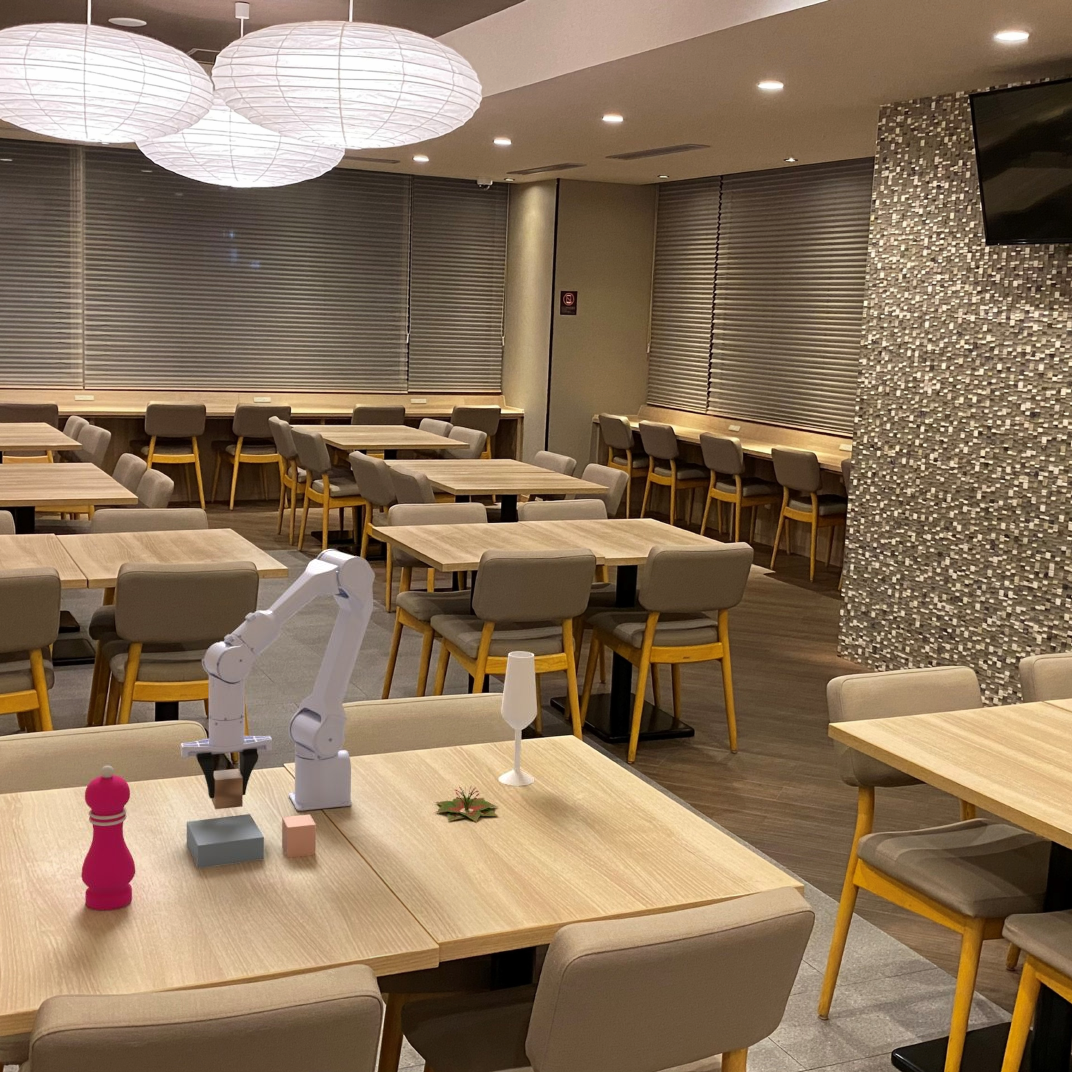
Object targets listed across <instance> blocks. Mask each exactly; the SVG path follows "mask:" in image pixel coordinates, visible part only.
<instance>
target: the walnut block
mask: <svg viewBox="0 0 1072 1072" xmlns="http://www.w3.org/2000/svg"><path fill="white" fill-rule="evenodd" d="M243 796H244V795H243V777H242V775H241V773H240V768H232V769H224V770H223V769H221V770H214V798H211V803H212V804H213V806H214V809H215V810H221V809H222V810H223V809H224V810H225V809H231V808H241V807H243V804H244V803H243V798H244V797H243Z"/></svg>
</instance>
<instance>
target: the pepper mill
mask: <svg viewBox="0 0 1072 1072" xmlns="http://www.w3.org/2000/svg"><path fill="white" fill-rule="evenodd" d="M114 773H115V770H114V768H113V766H111V765H104V766H102V767H101V769H100V776H97V777H95V778H93V779H92V780H91V781H90V782H89V783H88V784H87V785H86V788H85V792H84V801H85V803H86V805H87V806H88V808H89V809H90V810H89V811H88V815H89V818H88V822H89V823H91V824H92V841H91V844H90V847H89V849H88V851H87V853H86V856H85V858H84V860H83V863H82V867H81V874H80V875H81V876H80V877H81V880H82V882H83V884H84V885H86V887H87V888H86V889H85V894H84V895H85V905H86V906H87V907H88V908H90V909H92V910H96V911H112V910H117V909H120V908H123V907H125V906H127V905H129V904H130V902H131V901H132V900H133V899H132V898H133V887H132V885H131V884H130V883H131V881H132V880H133V879H134V877H135V874H136V864H135V861H134V858H133V855H132V852H130V850H129V847H128V846H127V843H126V841H125V836H124V822H125V821H126V819H127V812H128V811H127V807H126V805H127V804H128V802H129V800H130V797H131V791H130V790H131V789H130V786H129V783H128V782H127V781H126V779H124V778H123V777H121V776H119V775H115V774H114Z"/></svg>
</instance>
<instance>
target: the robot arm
mask: <svg viewBox="0 0 1072 1072" xmlns="http://www.w3.org/2000/svg"><path fill="white" fill-rule="evenodd" d="M375 577H376V574H375V572H374V570H373V569H372V567H371V565H370V563H369V561H368V560H366V559H365V558H363V557H361V556H357V555H355V556H354V555H353V554H349V553H345V552H341V551H340V550H338V549H335V548H329V549H325V550H323V551H321V552H320V553H319V554H318V555H317V557H316V558H314V559H312V560H311V561H310V562H308V564H307V566H306V568H305V570H304V571H303V573H302V574H301V575H300V576H299V577H298V578H297V579H296V580H295V581H294V582H293V583H292V584H291V586H289V588H288V589H287V590H286V591H284V592H283V594H282V595H280V597H279V598H278V599H276V601H275V602H274V603H273V604H272V605H271V606H270V607H269V608H268V609H266V610H261V609H260V610H256V611H254V612H249V613H248V614H247V615H246V616H245V617H244V619H245V620H244V621H243V622H242V623H241V624H240V625H239V626H238V627H237V628H236V629H235V630H234V631H232V632H231V633H230V634H229V633H228V634H227V635H225V636H224V637H223V639H224V640H223V641H219V642H215V643H213V644H211V646H209V648H208V649H206V652H205V654H204V657H203V658H202V659H201V665H202V668H203V669H204V672H206V673H207V675H208V738H205V739H200V740H196V741H191V742H190V741H189V742H182V743H180V756H181V758H182V759H188V758H190V757H195V758H196V760H197V763H198V765H199V766H200V769H201V770H202V773H203V775H204V779H205V782H206V786H207V792H208V793H207V794H208V798H209V799H212V798H214V771H215V761H214V756H213V755H220V754H221V755H222V754H231V753H238V757H239V760H238V761H239V771H240V773H241V775H242V777H243V796H246V792H247V787H248V784H249V780H250V777H251V774H252V772H253V770H254V767H255V765H256V764H257V762H258V760H259V754H258V751H266V752H268V751H273V739H272V737H271V735H265V736H263V735H245V733H246V731H245V730H246V729H245V728H246V725H245V723H246V722H245V719H246V718H245V714H246V713H245V707H246V706H245V705H246V704H245V701H246V700H245V697H246V696H245V694H246V693H245V688H246V687H245V678H247V677H248V676H249V674H250V673H251V671H252V668H253V667H252V665H253V663H254V662H255V661H256V659H257V658H258V657H259V656H260V655H261V654H262V653H264V651H265V650H267V649H268V648H269V647H270V646H271V645H272V644H273V643H274V642H275V641H277V639H278V638H279V637H281V634H282V626H283V624H285V623H286V622H287V621H288V620H290V619H291V618H292V617H293V616H294V615H296V614H297V613H298V612H299V611H300V610H302V609H303V608H304V607H305V606H307V605H308V604H309V603H310V602H312V601H313V600H314V599H316V598H317V597H318V596H326V595H327V596H329V595H332V596H333V598H334V600H335V602H336V603H337V605H338V607H339V611H338V614H337V616H336V619H335V623H334V625H333V629H332V631H331V635H330V638H329V640H328V643H327V647H326V649H325V652H324V655H323V659H322V662H321V665H320V668H319V670H318V674H317V677H316V680H315V682H314V686H313V689H312V692H311V694H310V695H308V696H307V697H305V698H304V699H303V700H301V701H300V705H299V707H298V709H297V711H296V712H295V713H294V714H293V715H292V717H291V718H290V721H289V722H288V726H287V727H288V728H287V732H288V735H289V738H290V739H291V741H292V742H294V751H295V754H294V792H289V793H288V797H289V799H290V800H291V802H292V804H293V806H294V807H295V809H296V811H298V812H302V811H303V812H304V811H310V810H311V811H312V810H319V809H329V808H331V809H332V808H339V807H341V808H342V807H350V806H352V801H351V800H352V799H351V798H352V797H351V794H352V793H351V792H352V763H351V758H350V754H349V751H348V750H346V749H342V748H343V746H344V744H345V739H346V732H345V731H346V730H345V729H346V727H345V726H346V723H347V720H348V717H347V713H346V710H345V708H344V706H343V702H344V698H345V695H346V693H347V689H348V687H349V683H350V680H351V677H352V673H353V671H354V668H355V665H356V661H357V658H358V656H359V652H360V649H361V647H362V643H363V639H364V637H365V634H366V631H367V627H368V625H369V623H370V622H369V621H370V618H371V615H372V613H373V609H374V593H373V584H374V581H375Z"/></svg>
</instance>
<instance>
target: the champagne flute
mask: <svg viewBox="0 0 1072 1072" xmlns="http://www.w3.org/2000/svg"><path fill="white" fill-rule="evenodd" d="M535 665H536V664H535V654H534V653H533V652H529V651H523V650H522V651H518V650H517V651H511V652H509V653H508V654H507V663H506V669H505V678H504V685H503V693H502V701H501V708H500V713H501V716H502V718H503V720H504V721H505V722H506V723H507V724H508V725H509V726H510V727H511V728H512V729H514V753H513V769H512V770H510V771H508V772H505V773H504V774H502V775H500V776H499V777H498V781H499V782H500V783H502V784H504V785H507V786H513V787H517V786H518V787H520V786H521V787H522V786H529V785H531V784H533V783H534V782H535V779H534V777H533V776H531V775H529V774H528V773H526V772H525V771H523V770H521V751H522V750H521V749H522V748H521V747H522V730H524V729H526V728H527V727H528V726H529V725H531V723H533V721H534V720H535V718H536V717H537V715H538V706H537V705H538V704H537V687H536V686H537V685H536V684H537V683H536V668H535V667H536V666H535Z"/></svg>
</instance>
